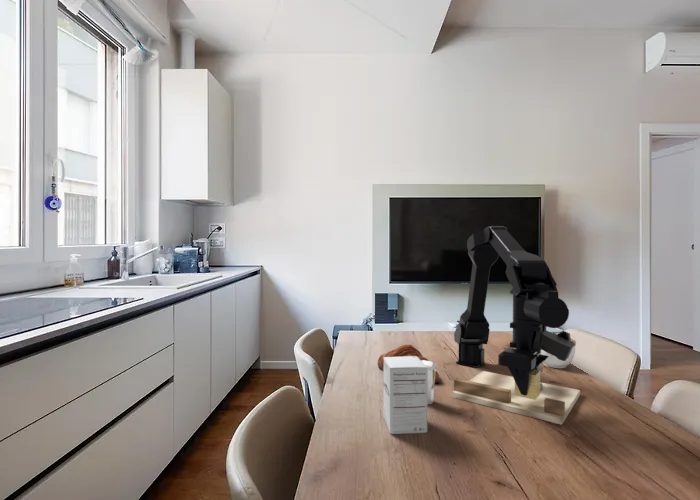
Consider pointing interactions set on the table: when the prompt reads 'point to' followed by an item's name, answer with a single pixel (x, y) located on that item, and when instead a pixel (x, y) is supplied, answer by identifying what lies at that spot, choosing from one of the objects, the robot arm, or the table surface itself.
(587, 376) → the table surface
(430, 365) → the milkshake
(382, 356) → the pastry
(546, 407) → the board
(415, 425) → the supplement box
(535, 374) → the tab
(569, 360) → the lidded jar
